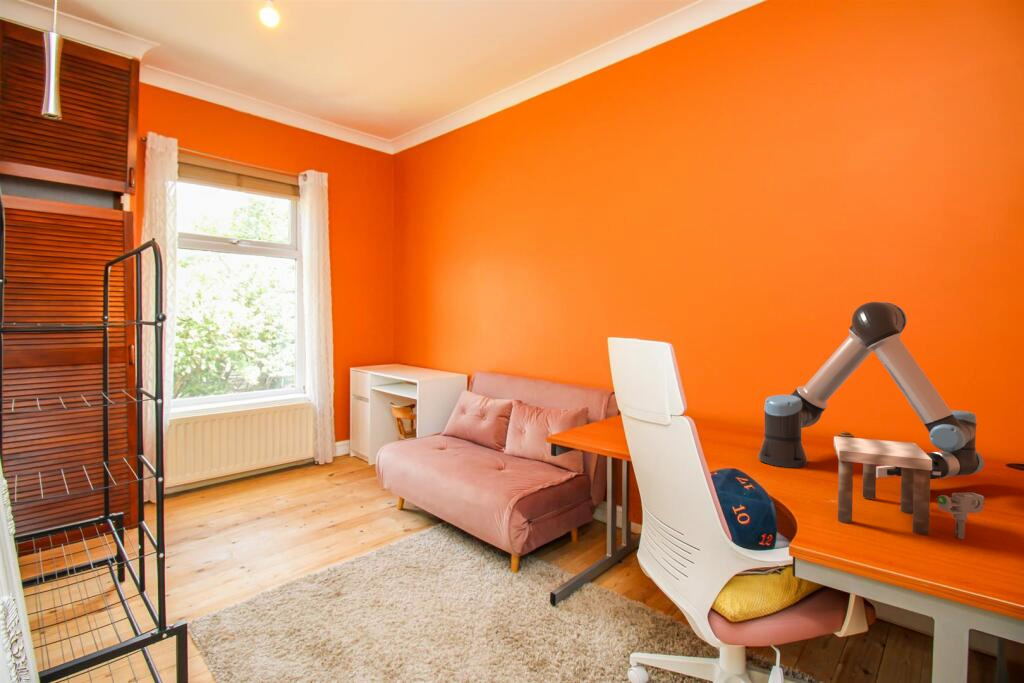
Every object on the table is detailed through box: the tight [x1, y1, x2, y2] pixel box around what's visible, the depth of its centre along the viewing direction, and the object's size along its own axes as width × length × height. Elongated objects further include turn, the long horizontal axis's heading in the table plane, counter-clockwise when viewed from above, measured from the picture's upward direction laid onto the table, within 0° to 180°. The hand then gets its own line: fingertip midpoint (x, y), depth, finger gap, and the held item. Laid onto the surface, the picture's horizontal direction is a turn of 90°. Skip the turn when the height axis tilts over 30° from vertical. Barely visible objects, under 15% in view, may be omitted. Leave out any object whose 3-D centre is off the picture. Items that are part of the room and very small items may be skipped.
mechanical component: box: [936, 492, 985, 540], centre depth 115 cm, size 3×10×10 cm, turn 95°
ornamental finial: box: [833, 430, 856, 452], centre depth 192 cm, size 8×8×8 cm
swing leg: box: [862, 463, 877, 500], centre depth 138 cm, size 10×3×15 cm, turn 151°
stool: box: [833, 435, 932, 536], centre depth 128 cm, size 18×18×18 cm
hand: (875, 472), depth 143 cm, fingers closed
